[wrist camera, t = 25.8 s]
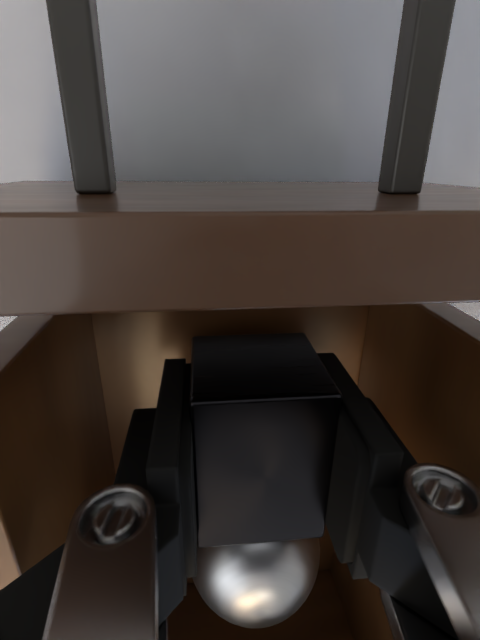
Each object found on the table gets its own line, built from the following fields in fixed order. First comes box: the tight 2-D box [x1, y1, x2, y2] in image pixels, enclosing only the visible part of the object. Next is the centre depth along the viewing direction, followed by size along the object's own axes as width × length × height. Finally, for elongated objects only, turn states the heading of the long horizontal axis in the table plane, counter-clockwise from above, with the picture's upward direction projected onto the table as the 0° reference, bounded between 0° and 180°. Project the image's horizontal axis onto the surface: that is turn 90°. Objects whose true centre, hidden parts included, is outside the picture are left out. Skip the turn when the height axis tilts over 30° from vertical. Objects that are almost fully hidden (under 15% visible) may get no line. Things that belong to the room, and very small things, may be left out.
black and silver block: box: [189, 333, 342, 628], centre depth 10 cm, size 7×4×4 cm, turn 179°
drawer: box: [0, 0, 480, 640], centre depth 10 cm, size 21×12×7 cm, turn 179°
